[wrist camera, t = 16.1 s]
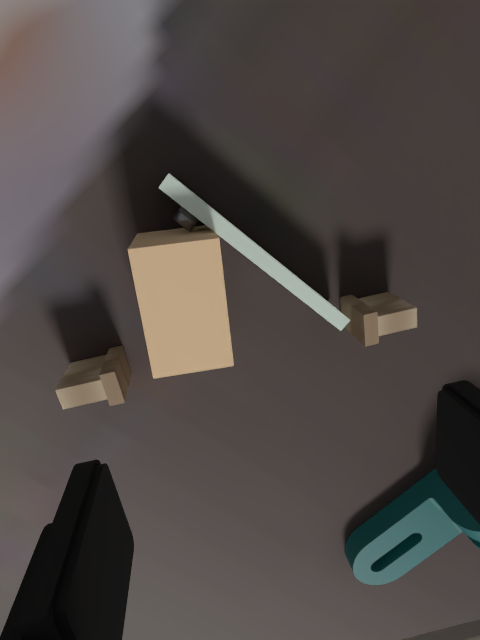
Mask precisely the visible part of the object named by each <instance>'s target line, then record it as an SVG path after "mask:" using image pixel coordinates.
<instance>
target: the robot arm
mask: <svg viewBox="0 0 480 640" xmlns="http://www.w3.org/2000/svg"><path fill="white" fill-rule="evenodd" d="M435 465H436V470H437V473H438V475H439V477H440V478H441V480H442V481H443V482H444V483H445V484H446V486H447V487H448V488H449V489H450V490H451V492H452V493H453V494H454V495H455V496H456V497H457V499H458V500H459V501H460V502H461V503H462V505H463V506H464V507H465V508H466V509H467V510H468V512H469V513H470V514H471V515H472V516H473V518H474V519H475V520H476V521H477V522H478V523H479V525H480V389H478V388H477V387H475V386H474V385H473V384H471V383H470V382H468V381H465V380H463V381H458V382H454V383H449V384H445V385H444V386H443V388H442V391H439V393H438V399H437V431H436V462H435ZM133 552H134V541H133V536H132V532H131V530H130V527H129V524H128V521H127V518H126V515H125V513H124V510H123V507H122V504H121V501H120V498H119V496H118V493H117V490H116V487H115V484H114V481H113V479H112V476H111V473H110V470H109V467H108V465H107V464H101V463H100V461H99V460H93V461H88V462H83V463H79V464H76V465H75V466H74V467H73V470H72V472H71V475H70V478H69V480H68V483H67V486H66V488H65V491H64V494H63V496H62V499H61V502H60V504H59V507H58V510H57V512H56V515H55V518H54V520H53V523H51V524H47V525H46V526H45V527H44V529H43V531H42V533H41V535H40V538H39V540H38V543H37V545H36V548H35V550H34V553H33V555H32V558H31V560H30V563H29V565H28V568H27V571H26V573H25V576H24V578H23V581H22V583H21V586H20V588H19V591H18V593H17V596H16V598H15V601H14V603H13V606H12V608H11V611H10V613H9V616H8V619H7V621H6V624H5V626H4V629H3V631H2V634H1V636H0V640H122V635H123V628H124V620H125V612H126V605H127V597H128V590H129V582H130V575H131V567H132V559H133ZM402 640H480V620H476V621H472V622H468V623H464V624H460V625H456V626H452V627H448V628H444V629H441V630H437V631H433V632H429V633H425V634H421V635H418V636H414V637H410V638H406V639H402Z"/></svg>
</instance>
